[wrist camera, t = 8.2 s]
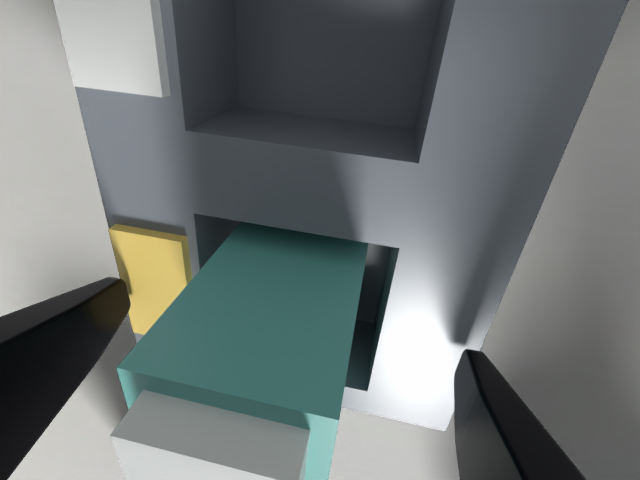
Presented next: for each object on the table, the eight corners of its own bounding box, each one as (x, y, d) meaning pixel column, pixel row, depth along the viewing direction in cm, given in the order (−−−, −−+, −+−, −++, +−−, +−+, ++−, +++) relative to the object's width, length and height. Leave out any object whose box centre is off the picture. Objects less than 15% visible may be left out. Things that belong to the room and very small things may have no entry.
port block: (602, -169, 7) (798, -367, 4) (435, 337, 14) (446, 440, 11) (146, -179, 9) (-44, -333, 5) (197, 290, 16) (135, 368, 12)
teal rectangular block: (357, 305, 13) (309, 584, 7) (261, 286, 14) (125, 529, 7) (373, 216, 11) (329, 476, 5) (261, 197, 12) (78, 412, 5)
